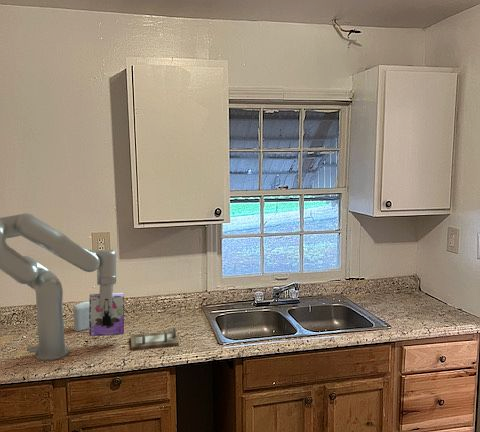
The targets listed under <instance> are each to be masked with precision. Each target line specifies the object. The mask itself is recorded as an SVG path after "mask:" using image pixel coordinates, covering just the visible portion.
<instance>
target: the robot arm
mask: <svg viewBox="0 0 480 432" xmlns="http://www.w3.org/2000/svg"><path fill="white" fill-rule="evenodd" d="M15 237H22V238H24V239H26V240H28V241H29V242H31V243H33V244H36V245H37V246H39V247H41V248H43V249H44V250H45V251H47V252H49V253H51V254H53V255H55V256H56V257H58V258H60V259H62V260H64V261H65V262H67V263H69V264H71V265H73V266H74V267H76V268H78V269H80V270H81V271H83V272H86V273H93V272H95V271H96V284H97V286H99V292H98V294H99V296H100V306H99V309H103V326H110V325H111V316H110V309H111V308H112V298H113V293H114V285H116V284H117V252H116V250H114V249H101V250H96V249H86V248H84V247H83V246H81V245H79V244H78V243H76V242H74V241H73V240H72V239H71V238H70V237H69V236H67V235H66V234H64V233H63V232H61V231H59V229H56V228H54V227H52V226H50V225H49V224H48V223H46V222H44V221H42V220H41V219H39V218H38V217H36V216H35V215H33V214H31V213H20V214H14V215H9V216H2V217H0V271H1V272H3V273H5V274H6V275H8V276H9V277H10V278H12V279H13V280H14V281H16V282H17V283H18V284H22V285H27V286H28V287H30V288H31V289H33V291H34V292H35V300H36V301H35V302H36V304H35V305H36V320H37V321H36V322H37V323H36V324H37V335H38V336H37V337H38V344H36V345H27V347H26V351H27V352H29V353H32V354H33V353H35V354H34V355H35V356H34V357H35V359H36V360H39V361H46V362H47V361H54V360H59V359H62V358H64V357H67V356H68V355H69V354H70V348H69V347H68V346H66V345H65V326H64V323H65V322H64V311H63V310H64V309H63V308H64V307H63V304H64V303H63V295H64V294H63V293H64V292H63V291H64V290H63V285H62V283H61V281H60V279H59V278H58V276H57V275H56V274H55V273H54V272H52V271H51V270H50V269H48V268H47V267H45V266H44V265H43V264H42V263H40V262H38V261H37V260H36V259H34V257H31V256H28V255H22V254H21V253H19V252H18V251H17V250H15V249H14V248H12V247H11V246H9V245H8V244H7V242H6V239H10V238H11V239H12V238H15ZM104 307H105V308H104ZM108 307H109V308H108ZM104 310H105V311H104ZM108 310H109V311H108Z"/></svg>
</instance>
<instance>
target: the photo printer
mask: <svg viewBox="0 0 480 432" xmlns="http://www.w3.org/2000/svg"><path fill="white" fill-rule="evenodd" d="M72 308H73V309H72V311H73V330H74V332H79V331H80V332H81V331H84V330H85V331H86V330H89V300H88V301H82V302H80V303H76V304H75V305H73V307H72Z"/></svg>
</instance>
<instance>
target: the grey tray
mask: <svg viewBox="0 0 480 432" xmlns="http://www.w3.org/2000/svg"><path fill="white" fill-rule="evenodd" d="M176 328H177V327H175V326H174V327H172V330H171V331H163V332H162V331H160V332H152V333H151V332H150V333H141V334H132V335H130V345H131V351H137V350H145V349H147V348H148V349H156V347H157V348H166V346H167V347H174V346H176V345H177V346H180V343H179V342H180V341H179V339H178V337H177V336H178V335H177V333H176V332H177V329H176ZM148 349H147V350H148Z"/></svg>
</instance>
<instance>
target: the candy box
mask: <svg viewBox="0 0 480 432" xmlns="http://www.w3.org/2000/svg"><path fill="white" fill-rule="evenodd" d="M88 301H89V329H88V331H89V333H88V336H89V337H101V336H102V337H104V336H118V335H124V334H125V294H124V292H113V298H112V308H111V309H110V316H111V325H110V326H103V309H99V306H100V296H99V293H90V294H89V298H88ZM104 308H105V307H104ZM108 308H109V307H108ZM104 311H105V310H104ZM108 311H109V310H108Z"/></svg>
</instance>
